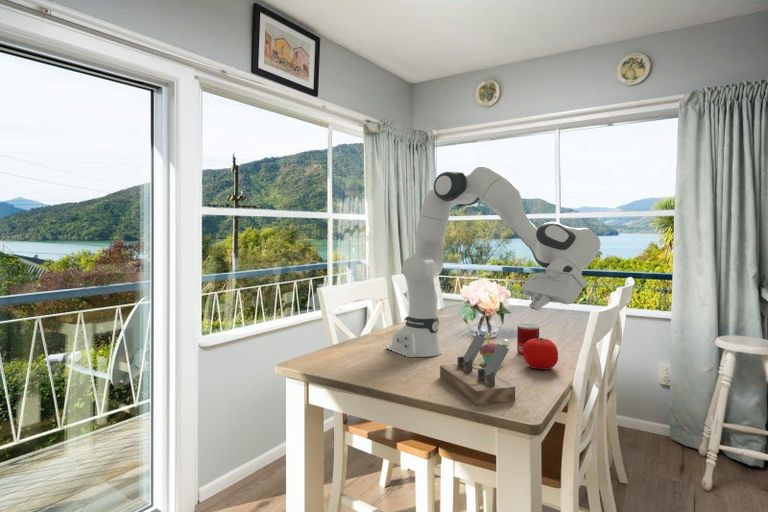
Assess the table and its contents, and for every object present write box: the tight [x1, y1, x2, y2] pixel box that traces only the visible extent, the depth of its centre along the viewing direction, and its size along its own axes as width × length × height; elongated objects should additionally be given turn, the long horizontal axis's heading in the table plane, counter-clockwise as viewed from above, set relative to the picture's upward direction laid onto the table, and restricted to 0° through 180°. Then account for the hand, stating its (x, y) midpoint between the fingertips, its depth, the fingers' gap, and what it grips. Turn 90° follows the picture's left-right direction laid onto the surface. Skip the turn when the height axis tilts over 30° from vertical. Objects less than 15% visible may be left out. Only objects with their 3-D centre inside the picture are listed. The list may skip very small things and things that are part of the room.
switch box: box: [439, 355, 516, 407], centre depth 132 cm, size 12×24×7 cm, turn 17°
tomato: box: [522, 337, 559, 370], centre depth 152 cm, size 11×12×10 cm
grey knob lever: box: [461, 329, 487, 363], centre depth 139 cm, size 2×4×12 cm
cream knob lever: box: [482, 339, 510, 376], centre depth 127 cm, size 2×4×12 cm
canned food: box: [516, 323, 540, 357], centre depth 170 cm, size 8×8×11 cm
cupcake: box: [478, 330, 498, 365], centre depth 157 cm, size 9×8×12 cm
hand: (533, 308), depth 130 cm, fingers closed
